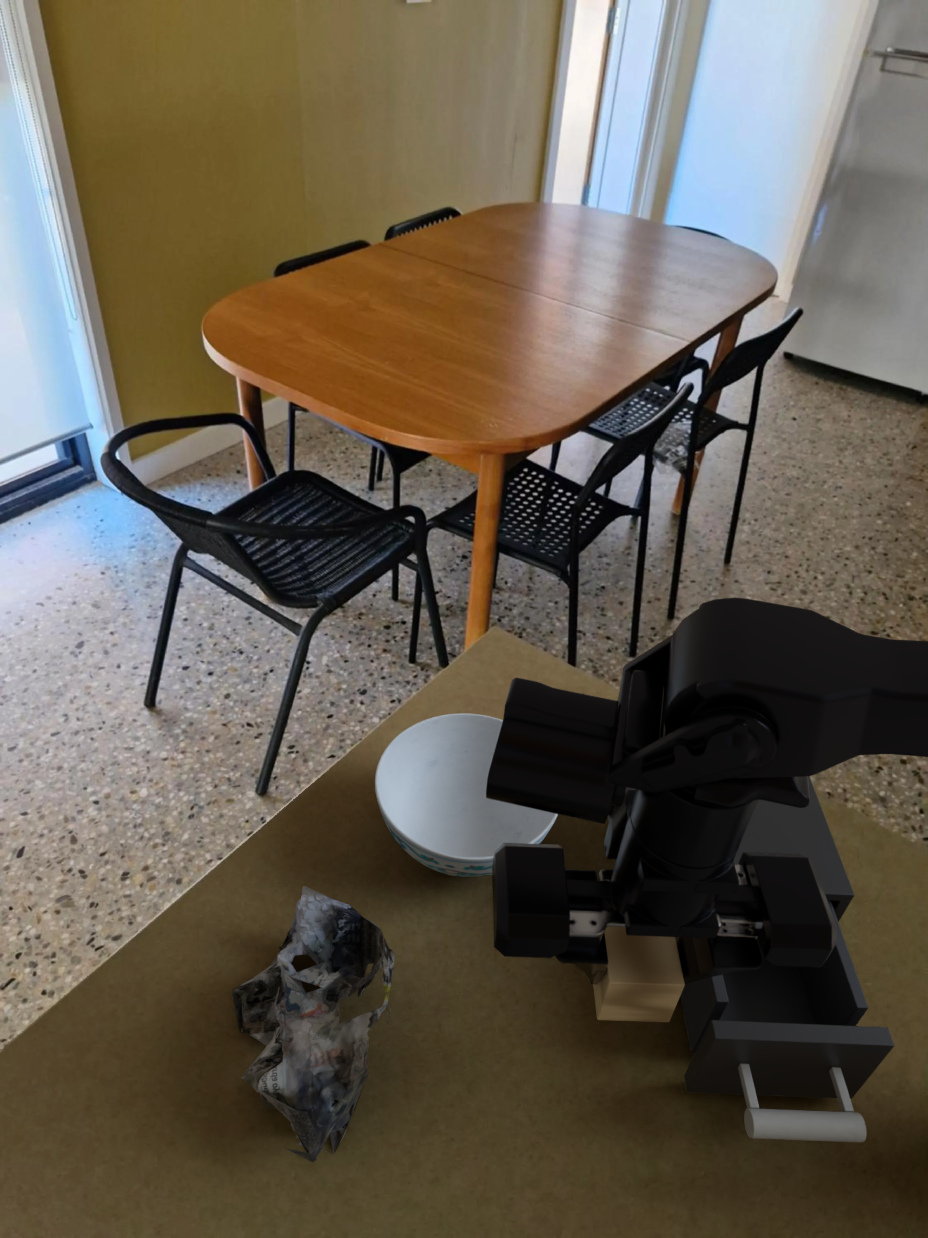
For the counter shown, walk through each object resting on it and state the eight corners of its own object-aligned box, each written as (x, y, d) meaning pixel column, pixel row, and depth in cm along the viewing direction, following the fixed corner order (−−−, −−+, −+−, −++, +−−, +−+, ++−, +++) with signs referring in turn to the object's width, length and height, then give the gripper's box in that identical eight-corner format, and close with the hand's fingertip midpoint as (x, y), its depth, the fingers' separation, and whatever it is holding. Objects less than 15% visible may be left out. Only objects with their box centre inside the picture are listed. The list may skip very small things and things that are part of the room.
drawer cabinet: (812, 966, 69) (855, 895, 63) (651, 959, 68) (679, 887, 62) (764, 815, 80) (797, 742, 74) (626, 808, 80) (647, 734, 74)
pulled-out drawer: (874, 1170, 57) (922, 1119, 52) (699, 1164, 57) (730, 1112, 52) (796, 921, 71) (828, 863, 66) (654, 915, 70) (676, 855, 65)
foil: (455, 946, 64) (360, 1046, 50) (403, 1071, 66) (297, 1200, 52) (324, 869, 68) (201, 941, 54) (278, 989, 70) (148, 1089, 56)
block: (657, 955, 58) (671, 916, 55) (669, 1023, 55) (685, 985, 52) (589, 953, 58) (600, 914, 55) (597, 1020, 55) (608, 983, 52)
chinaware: (494, 952, 68) (504, 894, 63) (338, 859, 73) (336, 799, 69) (579, 821, 78) (593, 762, 73) (436, 748, 84) (440, 689, 79)
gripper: (815, 718, 52) (747, 874, 62) (500, 704, 52) (481, 864, 62) (884, 880, 44) (792, 1031, 54) (507, 866, 43) (484, 1022, 53)
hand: (631, 978), depth 56 cm, fingers closed on block, 4 cm apart
